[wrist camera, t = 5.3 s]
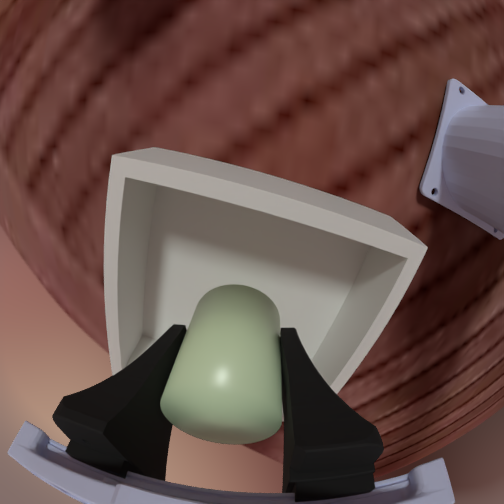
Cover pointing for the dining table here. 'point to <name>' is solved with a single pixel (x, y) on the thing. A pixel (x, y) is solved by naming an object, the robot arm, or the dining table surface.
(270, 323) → the green cylinder
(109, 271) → the bin
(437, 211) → the dining table surface
